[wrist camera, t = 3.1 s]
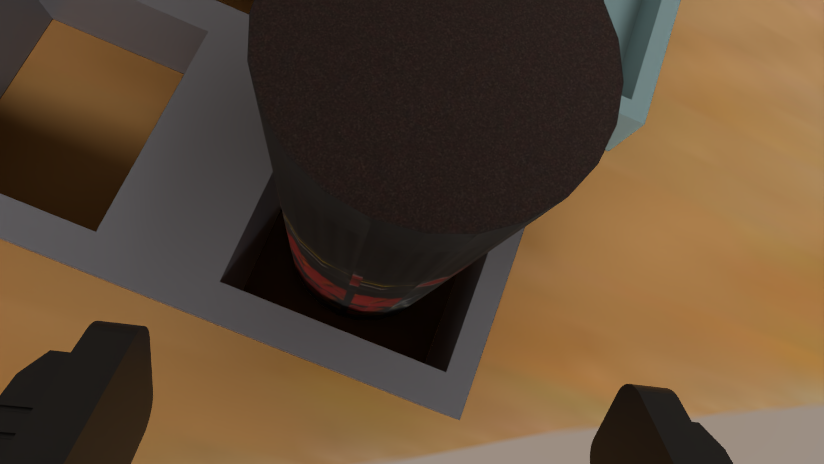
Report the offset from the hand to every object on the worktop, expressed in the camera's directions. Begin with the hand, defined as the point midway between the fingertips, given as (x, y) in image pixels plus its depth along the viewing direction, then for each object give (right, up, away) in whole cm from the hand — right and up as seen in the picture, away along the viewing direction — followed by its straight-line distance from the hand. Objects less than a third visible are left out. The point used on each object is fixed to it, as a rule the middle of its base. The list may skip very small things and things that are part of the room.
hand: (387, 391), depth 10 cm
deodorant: (-1, +2, +14) cm, 14 cm away
